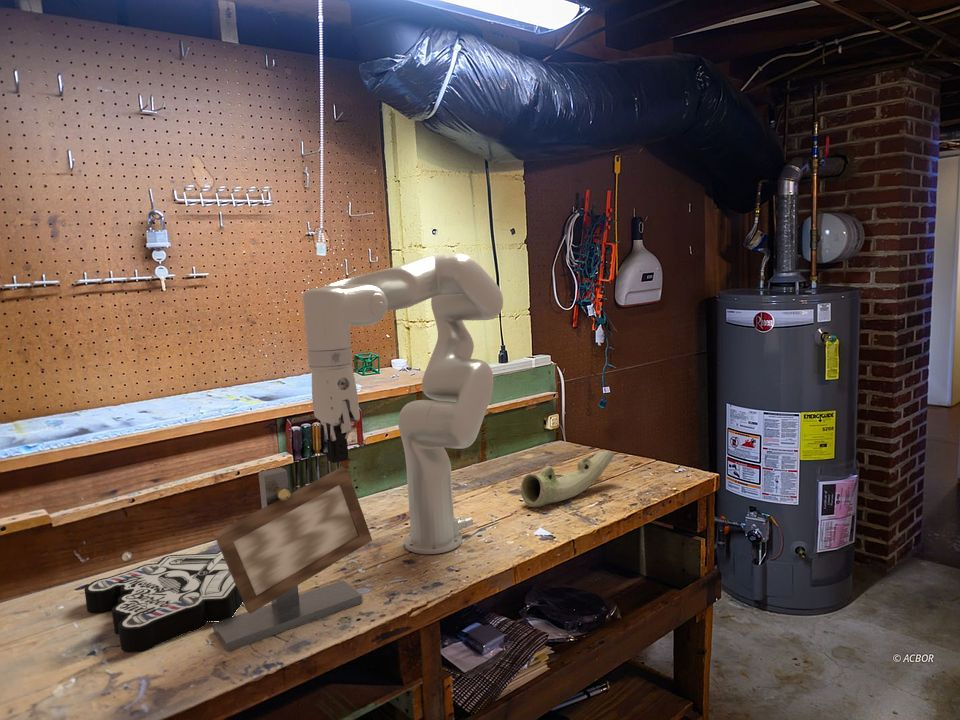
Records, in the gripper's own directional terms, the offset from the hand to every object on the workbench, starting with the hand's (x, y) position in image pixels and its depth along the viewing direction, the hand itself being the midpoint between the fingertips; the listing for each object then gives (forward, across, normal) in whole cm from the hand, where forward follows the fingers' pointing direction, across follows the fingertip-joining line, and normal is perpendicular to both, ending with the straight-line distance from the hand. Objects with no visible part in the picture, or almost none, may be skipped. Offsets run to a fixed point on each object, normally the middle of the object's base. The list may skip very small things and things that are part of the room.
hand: (338, 460), depth 122 cm
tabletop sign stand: (+26, +1, +11) cm, 28 cm away
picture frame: (+19, 0, +7) cm, 20 cm away
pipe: (+26, +13, -67) cm, 73 cm away
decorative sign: (+27, +21, +23) cm, 41 cm away
